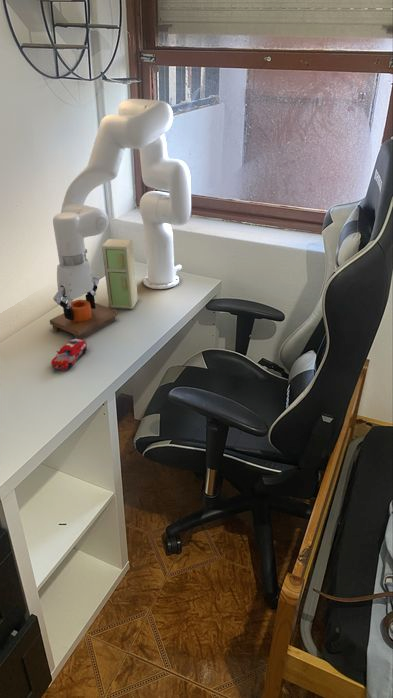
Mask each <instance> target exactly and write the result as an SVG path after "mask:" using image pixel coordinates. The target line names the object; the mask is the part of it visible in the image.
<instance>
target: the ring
mask: <svg viewBox="0 0 393 698" xmlns="http://www.w3.org/2000/svg"><path fill="white" fill-rule="evenodd" d="M70 307H71V308H72V310H73V316H74V320H72V321H79V322H80V321H85V320H88V319H90V318H91V316H92V313H91V305H90V302H89V301H87V300H86V299H76V300H75V299H74V300H72V303H71V306H70Z"/></svg>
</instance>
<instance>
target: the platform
mask: <svg viewBox="0 0 393 698" xmlns="http://www.w3.org/2000/svg"><path fill="white" fill-rule="evenodd" d="M95 306H96V308H95V309H92V308H91V313H92V316H91V318H90V319H88V320H85V321H80V322H79V321H71V320H69V319H66V318H65V316H64V312H63V313H61V314H58V315H57V316H55V317H53V318H51V319H49V324H50V326H51V327H52V331H54V332H60V331H62V330H63V331H65V332H68V333H70V334H72V335H74V339H81V340H84V339H86V338H88V337H90V336H91V335H93V334H95V333H97V332H98V331H100V330H102V329H104V328H106V327H107V326H110V325H111V324H113V323H114V322H116V321H117V317H116V316H117V314H118V312H117V309H115V308H110V307H109V306H105V305H102V304H99V303H96V302H95Z"/></svg>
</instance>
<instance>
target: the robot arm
mask: <svg viewBox="0 0 393 698" xmlns="http://www.w3.org/2000/svg"><path fill="white" fill-rule="evenodd" d="M117 112H118V114H116V113H111V114H108V115H105V116H104V117H102V119H101V121H100V123H99V125H98V129H97V132H96V136H95V139H94V141H93V145H92V150H91V153H90V156H89V159H88V162H87V165H86V166H85V168H84V169H83V170H82V171H80V172H79V174H78V175H77V176H76V177H75V178H74V179H73V180H72V181H71V182H70V184H69V186H68V187H67V189H66V192H65V195H64V196H63V197H64V198H63V201H62V205H61V210H60V212H59V213H57V214H55V215H54V217H53V218H52V226H53V231H54V232H53V233H54V238H55V245H56V250H57V251H56V252H57V256H58V264H57V266H56V285H57V292H56V293H55V295H54V296H53V301H54V302H55V303H56V304H57V305H58V306H60V307H61V308H62V310H63V313H64V316H65V318H66V319H69V320H71V321H72V320H74V316H73V310H72V308H71V307H70V306H71V303H72V301H74V300H75V299H77V298H79V297H81V296H83V295H85V300H87V301H89V302H90V305H91V308H92V309H95V308H96V306H95V303H96V299H95V297H96V295H97V293H96V292H97V290H98V285H99V282H100V278H98V277H94V276H93V271H92V269H91V265H90V262H89V259H88V258H87V253H88V249H87V248H86V246H85V238H88V237H89V238H90V237H95V236H99V235H102V234H103V233H104V232H106V230H107V229H108V227H109V223H110V219H109V215H108V214H107V212H105V211H104V210H103V209H101V208H98V207H94V206H89V205H86V204H85V202H86V200H87V197H88V196H89V195H90V194H91V193H92V191H94V190H95V189H96V188H97V187H100V186H102V185H104V184H107V183H109V182H110V181H113V180H115V179H116V178H117V177H118V174H119V172H120V167H121V164H122V162H123V161H122V160H123V157H124V155H125V154H124V153H125V151H126V149H132V150H138V151H139V163H140V171H141V179H142V182H143V184H144V185H145V186H146V187H148V188H151V189H155V190H151V191H147V192H145V193H144V194H143V195H142V196H141V198H140V201H139V213H140V216H141V220H142V224H143V231H144V242H145V243H144V244H145V257H146V258H145V260H146V272H147V273H146V274H147V275H146V276H145V277H143V279H142V280H143V285H144V286H146V288H150V289H153V290H166V289H170V288H174V287H176V286H177V285H178V284H179V283H180V277H179V276H178V275H177V273H178V272H179V271H181V270H182V269H183V267H182V265H181V264H177V265H175V252H174V251H175V249H174V247H175V246H174V233H173V228H172V226H178V227H181V226H185V225H186V224H187V223H188V222H189V220H190V218H191V215H192V187H191V185H192V184H191V172H190V170H189V167H188V165H187V164H186V163H185V162H184V161H183V160H181V159H175V158H169V155H168V149H167V148H168V147H167V141H166V140H167V139H166V136H165V133H167V132H168V131H169V129H170V128H171V126H172V123H173V120H174V112H173V109H172V107H171V106H170V104H169V103H168V102H165V101H163V100H159V99H145V98H126V99H124V100H122V101H121V102H120V103H119V104H118V111H117ZM156 190H157V191H156ZM158 190H159V191H158ZM160 190H161V191H160ZM165 191H168V192H165Z"/></svg>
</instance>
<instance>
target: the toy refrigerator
mask: <svg viewBox="0 0 393 698" xmlns="http://www.w3.org/2000/svg"><path fill="white" fill-rule="evenodd" d="M133 243H134V242H133V239H127V238H125V239H124V238H123V239H122V238H108V239H107V240H106V241H105V242H104V243H103V244H102V245H101V250H102V259H103V260H102V261H103V267H104V275H105V283H106V291H107V292H106V293H107V299H108V308H111V309H127V310H133V309H134V307H135V306H136V304H137V302H138V300H139V298H138V288H137V287H138V286H137V275H136V267H135V266H136V265H135V256H134V255H135V253H134V248H133V247H134V245H133Z"/></svg>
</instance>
